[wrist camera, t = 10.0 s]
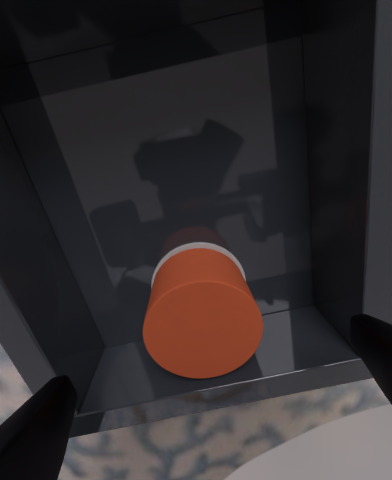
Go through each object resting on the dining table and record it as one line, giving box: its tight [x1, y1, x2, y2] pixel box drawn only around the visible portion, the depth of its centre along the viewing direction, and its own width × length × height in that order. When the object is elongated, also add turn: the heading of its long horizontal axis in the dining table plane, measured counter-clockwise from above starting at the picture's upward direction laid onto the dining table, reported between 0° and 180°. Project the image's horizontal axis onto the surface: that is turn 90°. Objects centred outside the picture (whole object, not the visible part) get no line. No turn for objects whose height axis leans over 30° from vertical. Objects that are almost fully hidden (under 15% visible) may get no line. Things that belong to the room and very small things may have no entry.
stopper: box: [143, 248, 263, 379], centre depth 10 cm, size 4×4×3 cm
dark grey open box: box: [0, 0, 392, 438], centre depth 9 cm, size 15×14×4 cm
